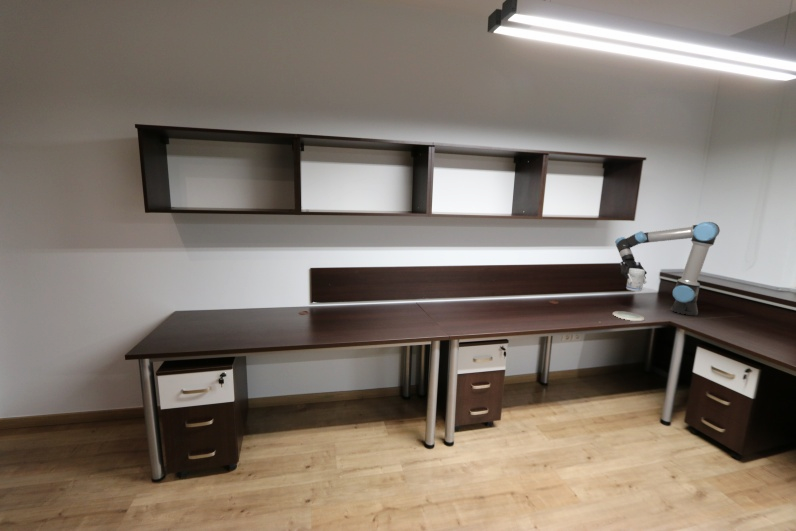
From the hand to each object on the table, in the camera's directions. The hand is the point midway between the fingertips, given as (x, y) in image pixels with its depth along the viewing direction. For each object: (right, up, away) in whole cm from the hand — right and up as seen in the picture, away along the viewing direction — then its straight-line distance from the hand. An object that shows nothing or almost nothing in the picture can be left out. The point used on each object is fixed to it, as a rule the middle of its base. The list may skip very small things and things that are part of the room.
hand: (638, 282), depth 256 cm
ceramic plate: (-13, -22, -9) cm, 27 cm away
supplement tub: (0, -5, +4) cm, 7 cm away
